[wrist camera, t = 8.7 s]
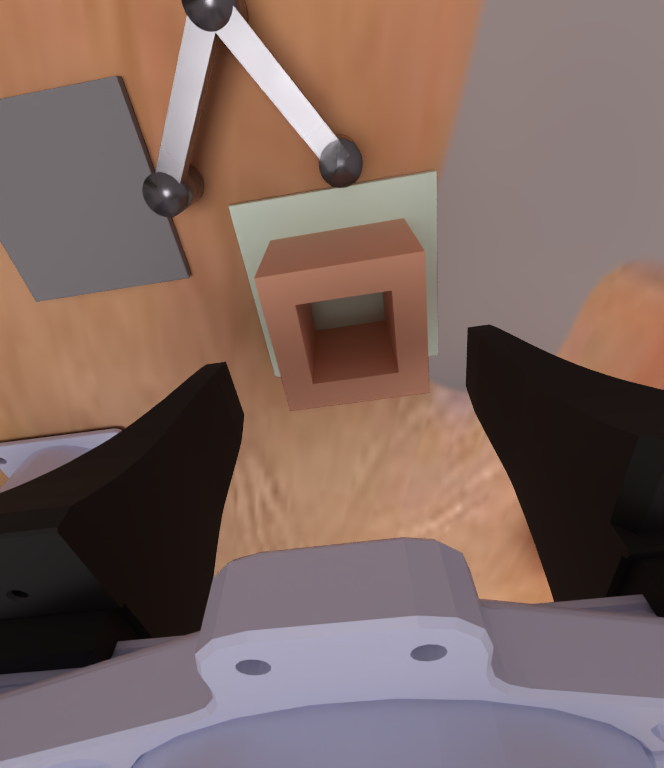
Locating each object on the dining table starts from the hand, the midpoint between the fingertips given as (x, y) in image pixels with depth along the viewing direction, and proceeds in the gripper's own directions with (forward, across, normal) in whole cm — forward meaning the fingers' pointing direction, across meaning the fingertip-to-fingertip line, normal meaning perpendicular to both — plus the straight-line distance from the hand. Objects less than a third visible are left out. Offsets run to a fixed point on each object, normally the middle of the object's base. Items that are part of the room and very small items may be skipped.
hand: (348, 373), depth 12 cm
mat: (+7, +10, -5) cm, 13 cm away
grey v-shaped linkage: (+7, +3, -7) cm, 10 cm away
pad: (+7, 0, 0) cm, 7 cm away
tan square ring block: (+7, 0, 0) cm, 7 cm away
